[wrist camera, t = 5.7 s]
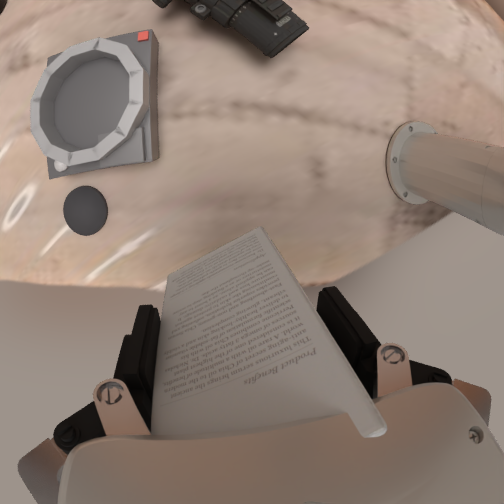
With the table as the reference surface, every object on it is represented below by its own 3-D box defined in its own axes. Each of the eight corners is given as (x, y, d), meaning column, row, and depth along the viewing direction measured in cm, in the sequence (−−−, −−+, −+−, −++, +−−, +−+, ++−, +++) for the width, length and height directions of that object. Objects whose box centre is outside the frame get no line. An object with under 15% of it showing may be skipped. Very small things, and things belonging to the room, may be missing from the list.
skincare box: (205, 323, 17) (226, 517, 6) (166, 273, 15) (141, 497, 4) (292, 280, 16) (392, 461, 6) (263, 221, 15) (391, 427, 4)
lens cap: (105, 181, 28) (101, 183, 27) (112, 229, 30) (109, 233, 29) (63, 189, 27) (59, 191, 26) (72, 234, 29) (68, 237, 28)
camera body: (158, 42, 22) (146, 18, 15) (159, 157, 28) (146, 164, 21) (65, 64, 20) (34, 52, 13) (67, 172, 26) (35, 185, 19)
